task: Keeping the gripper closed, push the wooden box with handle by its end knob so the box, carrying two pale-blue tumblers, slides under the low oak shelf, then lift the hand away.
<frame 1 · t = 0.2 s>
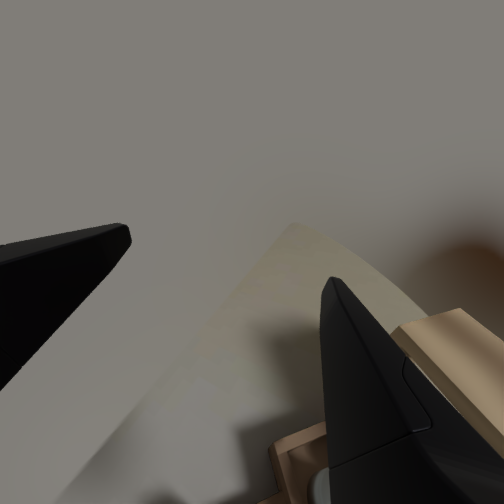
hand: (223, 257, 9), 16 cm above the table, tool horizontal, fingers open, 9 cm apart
wooden box with handle: (341, 488, 15), on the table
shelf: (426, 441, 17), on the table
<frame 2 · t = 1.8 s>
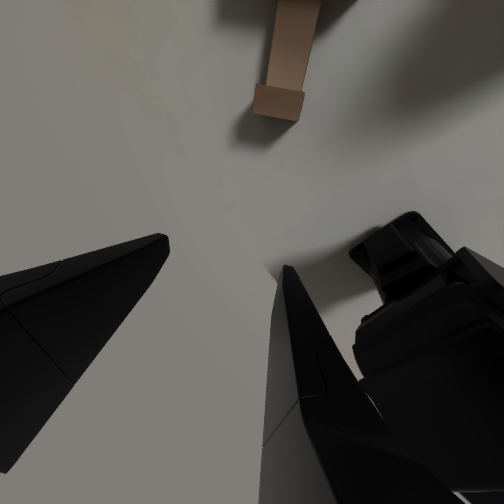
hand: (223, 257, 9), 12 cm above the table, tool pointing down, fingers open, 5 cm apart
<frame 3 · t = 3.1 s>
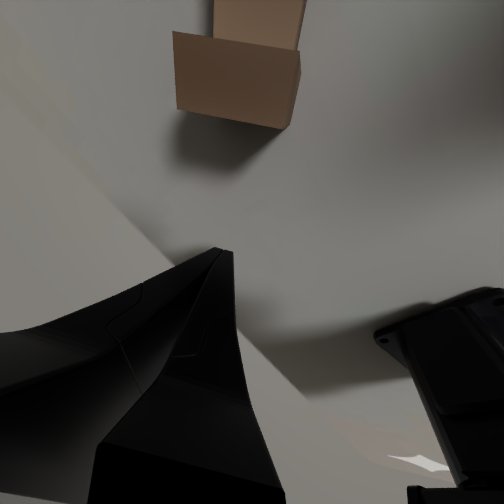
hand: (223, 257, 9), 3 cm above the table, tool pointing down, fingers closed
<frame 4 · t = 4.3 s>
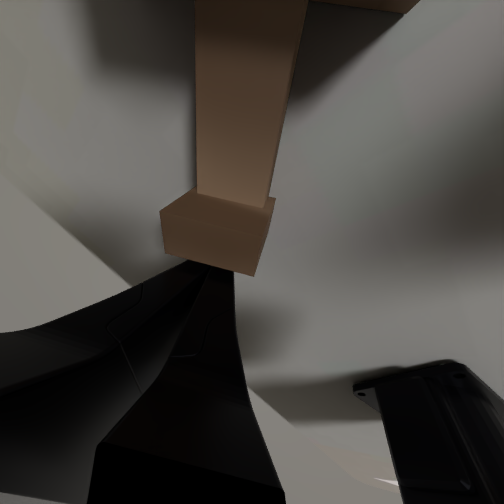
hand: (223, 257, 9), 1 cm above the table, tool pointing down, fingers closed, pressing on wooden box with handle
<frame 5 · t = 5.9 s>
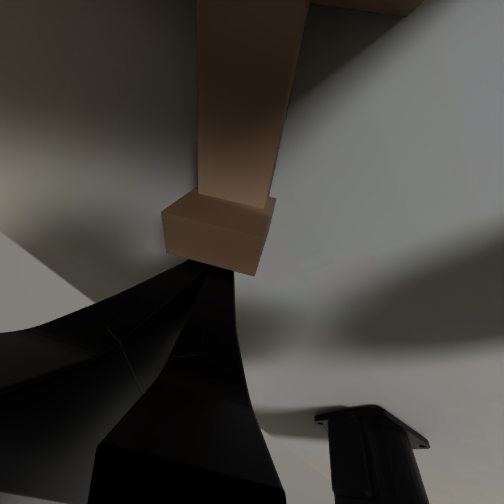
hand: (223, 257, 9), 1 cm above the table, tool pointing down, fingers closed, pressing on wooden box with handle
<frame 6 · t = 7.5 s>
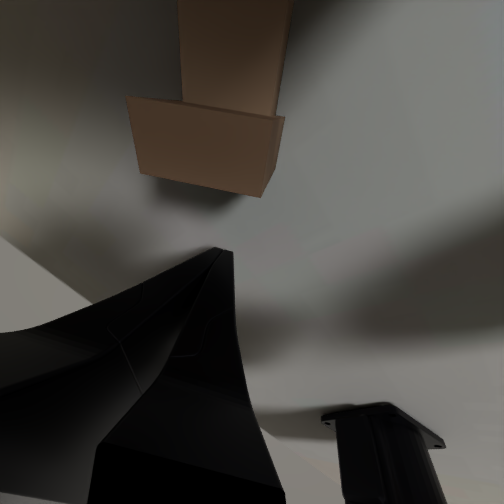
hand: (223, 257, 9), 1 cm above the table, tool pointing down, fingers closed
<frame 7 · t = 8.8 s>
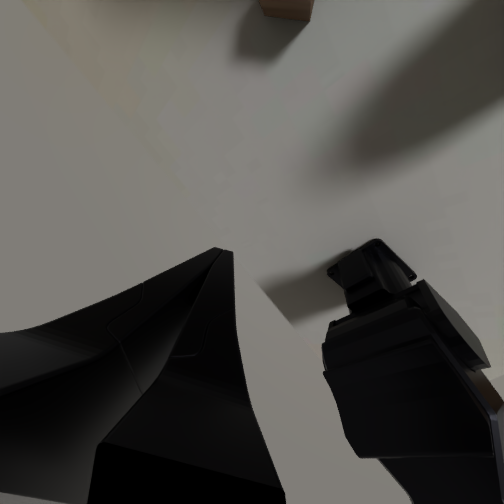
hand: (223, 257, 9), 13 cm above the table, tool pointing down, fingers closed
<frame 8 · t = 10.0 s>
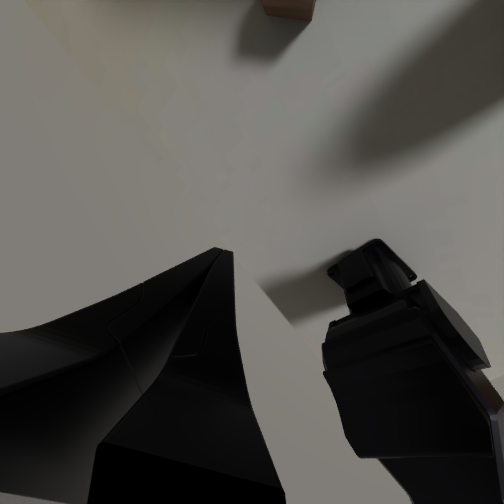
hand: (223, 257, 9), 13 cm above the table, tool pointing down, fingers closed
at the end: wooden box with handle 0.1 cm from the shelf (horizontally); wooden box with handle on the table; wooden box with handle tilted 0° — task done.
